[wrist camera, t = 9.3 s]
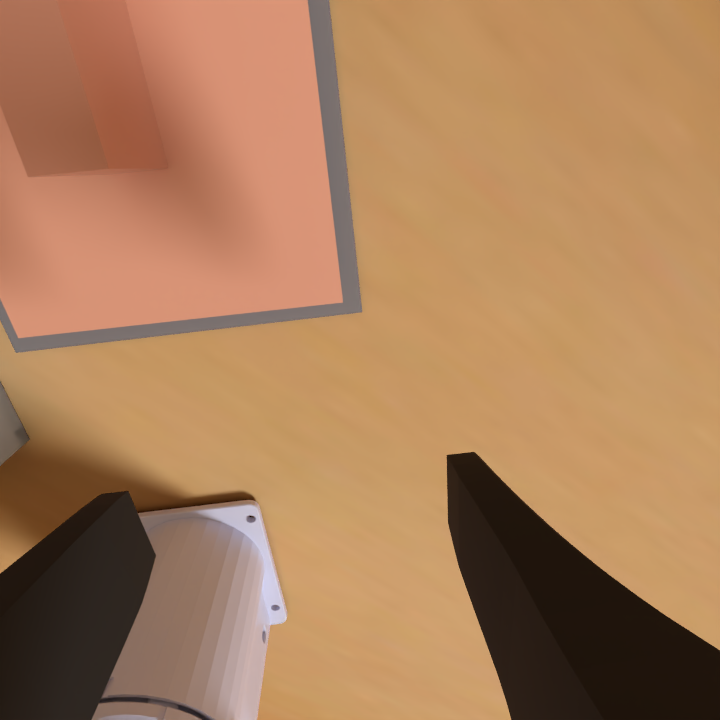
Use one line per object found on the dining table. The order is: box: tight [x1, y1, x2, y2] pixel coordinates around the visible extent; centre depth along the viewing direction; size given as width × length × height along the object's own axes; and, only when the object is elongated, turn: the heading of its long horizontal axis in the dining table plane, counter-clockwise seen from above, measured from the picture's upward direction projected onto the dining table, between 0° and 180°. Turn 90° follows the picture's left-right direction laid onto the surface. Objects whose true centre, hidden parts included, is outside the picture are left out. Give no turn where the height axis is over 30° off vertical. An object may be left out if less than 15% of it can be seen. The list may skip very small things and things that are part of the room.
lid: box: [0, 0, 343, 338], centre depth 12 cm, size 17×13×6 cm
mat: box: [0, 0, 362, 353], centre depth 15 cm, size 19×15×1 cm
